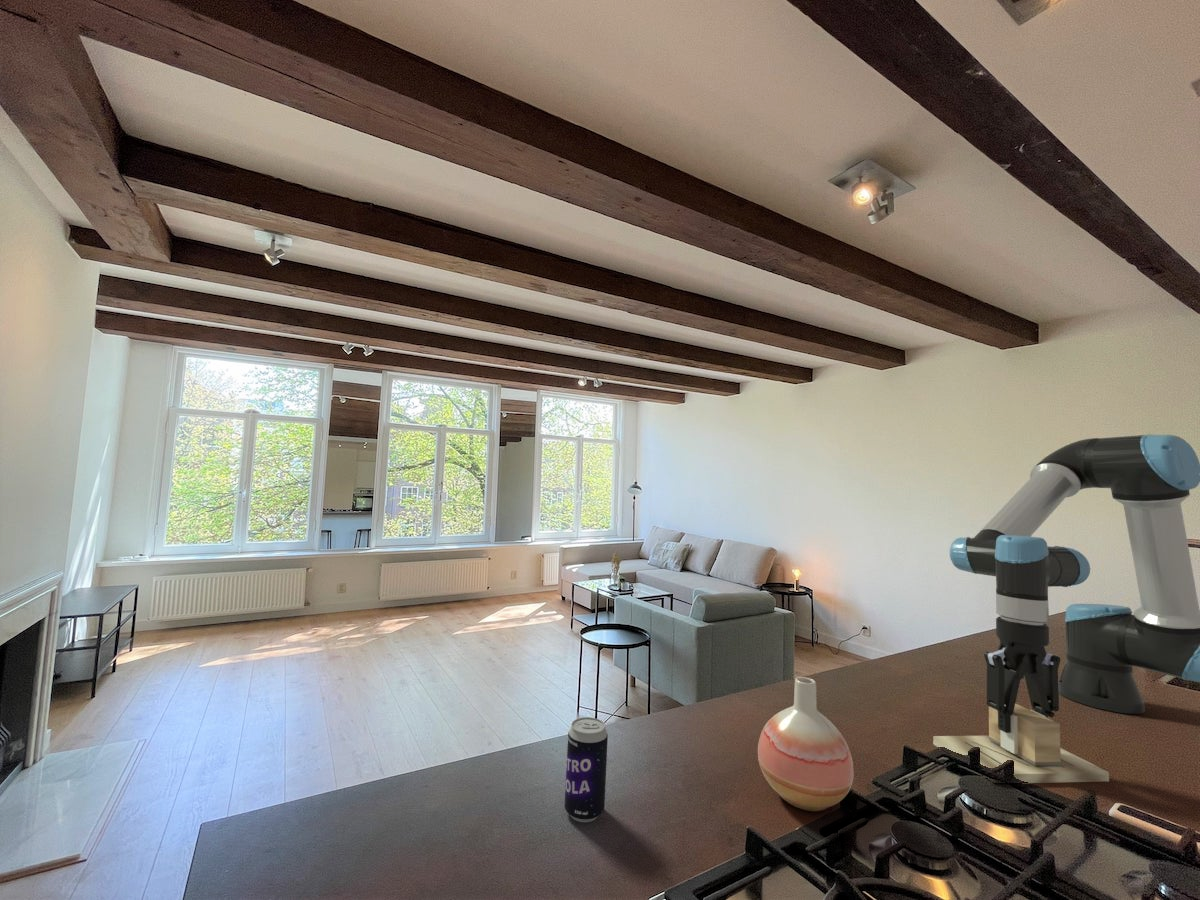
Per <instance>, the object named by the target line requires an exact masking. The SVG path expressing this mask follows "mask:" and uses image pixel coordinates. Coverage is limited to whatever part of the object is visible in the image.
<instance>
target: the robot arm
mask: <svg viewBox="0 0 1200 900" xmlns="http://www.w3.org/2000/svg"><path fill="white" fill-rule="evenodd" d="M1198 457H1199V456H1198V454H1197V453H1196V452H1195V450H1194V448H1193V447H1192V446H1191V444H1190V443H1188V441H1186V440H1185V439H1184V438H1183V437H1180V436H1177V435H1173V434H1140V435H1128V436H1125V435H1124V436H1115V437H1113V436H1112V437H1101V438H1098V437H1096V438H1094V437H1093V438H1085V439H1082V440H1077V441H1074V442H1071V443H1069V444H1066V445H1064V446H1062V447H1060V448H1058V449H1056V450H1055V451H1054V452H1051V453H1050V454H1048V455H1047V456H1045V457H1044V458H1042V459H1041V461H1039V462H1038V463H1037V464H1036V465H1035V466H1033V468H1032V469H1031V470H1030V474H1029V480H1027V482H1026V483H1025V484H1023V486H1022V487H1021V488H1020V489H1019V490H1018V491H1017V492H1016V493H1015V494H1014V495H1013V496H1012V497H1011V498H1010V499H1009V500H1007V502H1006V503H1005V504H1004V506H1003V507H1002V508H1001V509H1000V510H999V511H998V512H997V513H996V514H995V515H994V516H993V517H992V518H991V519H990V520H989V521H988V522H987V523H986V524H985V525H984V527H983V528H982V529H981V530H980V531H978V533H977V534H976V535H974V537H970V536H967V537H958V538H955V539H954V540H953V541H952V543H951V545H950V548H949V559H950V561H951V563H952V565H953V567H955V568H956V569H958V570H959V571H963V572H967V573H972V574H974V575H983V576H991V577H995V583H996V586H995V587H996V588H995V602H996V603H995V605H996V606H995V609H996V612H995V613H996V614H997V615H998V616H997V617H996V618H995V625H996V626H995V627H996V628H995V631H996V632H995V633H996V636H997V638H998V639H999V642H1000V643H999V645H998V647H997V651H994V652H990V651H985V652H984V654H983V656H984V659H985V663H986V705H987V706H988V707H989V706H990V707H992V708H994V709H996V710H997V711H998V728H999V729H1000V739H1001V747H1003V748H1004V749H1006V750H1008V751H1010V752H1011V753H1013V754H1018V716H1016V715H1013V712H1014V707H1015V703H1016V702H1017V697H1018V693H1019V688H1020V684H1021V680H1022V679H1025V684H1026V688H1027V691H1028V692H1027V693H1028V696H1029V701H1030V705H1031V708H1032V709H1033V710H1032V709H1030V710H1031V711H1033V712H1035V713H1038V714H1040V715H1042V716H1044V717H1046V718H1048V717H1049V718H1054V716H1055V714H1056V713H1057V712H1059V710H1060V702H1059V701H1060V700H1059V699H1060V698H1059V694H1060V695H1061V696H1063V697H1064V698H1067V699H1068V700H1071V701H1073V702H1077V703H1079V704H1082V705H1085V706H1089V707H1093V708H1095V709H1100V710H1104V711H1105V710H1106V711H1108V712H1109V711H1110V712H1115V713H1122V714H1130V715H1138V714H1139V715H1140V714H1144V713H1145V712H1146V707H1145V701H1144V698H1143V697H1142V694H1141V692H1140V688H1139V686H1138V684H1137V682H1136V680H1135V677H1134V671H1133V670H1134V668H1133V667H1135V668H1140V669H1143V670H1147V671H1152V672H1156V673H1158V674H1163V675H1167V676H1170V677H1171V676H1172V677H1175V678H1177V679H1178V678H1179V679H1182V680H1183V681H1191V682H1196V683H1200V606H1199V600H1198V594H1197V589H1196V588H1197V587H1196V584H1195V583H1196V582H1195V577H1194V571H1193V567H1192V560H1191V554H1190V549H1189V543H1188V539H1187V532H1186V527H1185V521H1184V520H1185V519H1184V515H1183V509H1182V503H1183V502H1184V501H1185V500H1187V498H1189V497H1190V496H1191V495H1190V494H1191V493H1190V491H1191V490H1193V489H1196V488H1197V487H1198V486H1199V485H1200V460H1199V458H1198ZM1092 488H1093V489H1094V488H1097V489H1110V490H1111V497H1112V499H1113V500H1115V501H1116V502H1118V503H1120V504H1121V505H1122V506H1123V509H1124V516H1125V522H1126V526H1127V528H1126V529H1127V531H1128V538H1129V543H1130V549H1131V554H1132V560H1133V565H1134V571H1135V576H1136V582H1137V587H1138V588H1137V589H1138V594H1139V598H1140V604H1141V605H1140V606H1139V607H1138V608H1137V609H1136V610H1134V611H1132V609H1131V608H1130V607H1129V606H1123V605H1115V604H1100V603H1073V604H1072V603H1071V604H1069V605H1068V606H1067V607H1066V609H1065V620H1064V623H1065V650H1066V651H1065V652H1066V653H1065V655H1066V656H1065V657H1066V661H1065V665H1064V667H1063V668H1062V671H1061V674H1060V676H1059V667H1060V664H1061V657H1059V656H1058V655H1055V654H1051V653H1048V652H1047V649H1046V648H1045V647H1048V646H1049V644H1050V634H1049V631H1050V627H1049V626H1048V625H1047V624H1046V623H1048V622H1050V615H1049V613H1050V611H1049V609H1050V608H1049V588H1050V587H1051V588H1052V587H1064V588H1068V587H1071V586H1077V585H1080V584H1083V583H1084V582H1085V581H1086V580H1087V579H1088V578H1089V576H1090V573H1091V565H1090V563H1089V560H1088V559H1087V558H1086V556H1085V555H1084V554H1083V553H1081V552H1080V551H1079V550H1077V549H1074V548H1071V547H1065V546H1059V545H1058V546H1057V545H1054V546H1048V542H1047V541H1046V539H1044V538H1043V537H1037V536H1033V535H1034V533H1036V531H1037V530H1038V529H1039V528H1040V527H1041V526H1042V525H1043V524H1044V523H1045V521H1046V520H1048V518H1049V517H1050V516H1051V514H1053V512H1054V511H1055V510H1056V509H1057V508H1058V507H1059V506H1060V505H1061V503H1062V502H1063V501H1064V500H1065V499H1066V498H1071V497H1073V496H1075V495H1077V493H1079V492H1080V491H1081V490H1085V489H1092ZM1004 704H1005V705H1006V706H1004ZM1016 704H1017V703H1016Z"/></svg>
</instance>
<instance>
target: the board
mask: <svg viewBox="0 0 1200 900" xmlns="http://www.w3.org/2000/svg"><path fill="white" fill-rule="evenodd" d="M932 741H933V742H932V743H933V745H934V746H935V747H936V748H938V747H945V748H947V749H949V750H951V751H953V752H956V753H959V754H962V755H968V751H969V750H970V749H971V748H973V747H979V748H980V764H981V765H983V766H986V767H988V768H995V767H998V766H999V765H1002V764H1003V763H1004V762H1006V761H1007V760H1013V761H1014V774H1013V775H1014V777H1015V778H1016V779H1019V780H1021V781H1024V782H1028V783H1027V784H1047V783H1048V784H1050V783H1052V784H1053V783H1056V784H1057V783H1093V782H1095V783H1096V782H1097V783H1098V782H1110V772H1109V771H1107V770H1105V769H1103V768H1101V767H1100V766H1097V765H1096V764H1094V763H1091V762H1089V761H1088V760H1085V759H1083V758H1082V757H1079V756H1077V755H1076V754H1073V753H1072V752H1069V750H1068V751H1067V750H1066V749H1064V748H1062V747H1060V754H1061V765H1053V766H1035V765H1033V764H1031V763H1029V762H1028V761H1026V760H1024V759H1022V758H1020V757H1019V756H1017V755H1015V754H1013V753H1011V752H1010V751H1008V750H1006V749H1004V748H1003V747H1001V746H999V745H997V744H996V743H994V742H992V741H990V740H989V735H934V736H933V740H932Z"/></svg>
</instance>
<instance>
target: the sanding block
mask: <svg viewBox="0 0 1200 900" xmlns="http://www.w3.org/2000/svg"><path fill="white" fill-rule="evenodd" d="M1004 706H1006V705H1005V704H1004ZM1031 710H1032V709H1028V708H1026V707H1024V706H1022V705H1019V704H1018V703H1015V707H1014V712H1013V715H1016V716H1018V754H1015V755H1017V756H1019V757H1020V758H1022V759H1024V760H1026V761H1028V762H1029V763H1031V764H1033V765H1035V766H1053V765H1061V754H1060V748H1061V723H1059V722H1057V721H1056V720H1053V719H1050V717H1049V718H1046V717H1044V716H1042V715H1040V714H1038V713H1035V712H1033V711H1034V710H1033V711H1031ZM988 736H989V740H990V741H992V742H994V743H996V744H997V745H999V746H1001V739H1000V729H999V728H998V711H997V710H996V709H994V708H992V707H990V706H988Z"/></svg>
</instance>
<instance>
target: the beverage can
mask: <svg viewBox="0 0 1200 900" xmlns="http://www.w3.org/2000/svg"><path fill="white" fill-rule="evenodd" d="M608 736H609V734H608V731H607V730H606V723H605V722H604V721H602V720H600V719H598V718H596V717H587V716H586V717H579V718H576V719H574V720H573V721H572V722H571V727H570V728H569V730H568V733H567V747H566V748H567V749H566V750H567V751H566V766H565V767H566V768H565V769H566V770H565V772H566V773H565V786H564V788H565V789H564V804H563V805H564V810H565V811H566V813H567V814H568V815H569V816H570V817H571V818H572V820H574V821H576V822H579V823H591V822H593V821H595V820H596V819H598V817H599V816H601V814H603V813H604V811H605V804H606V803H605V802H606V785H607V784H606V781H607V762H608V760H607V759H608V758H607V757H608V738H609V737H608Z"/></svg>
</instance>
